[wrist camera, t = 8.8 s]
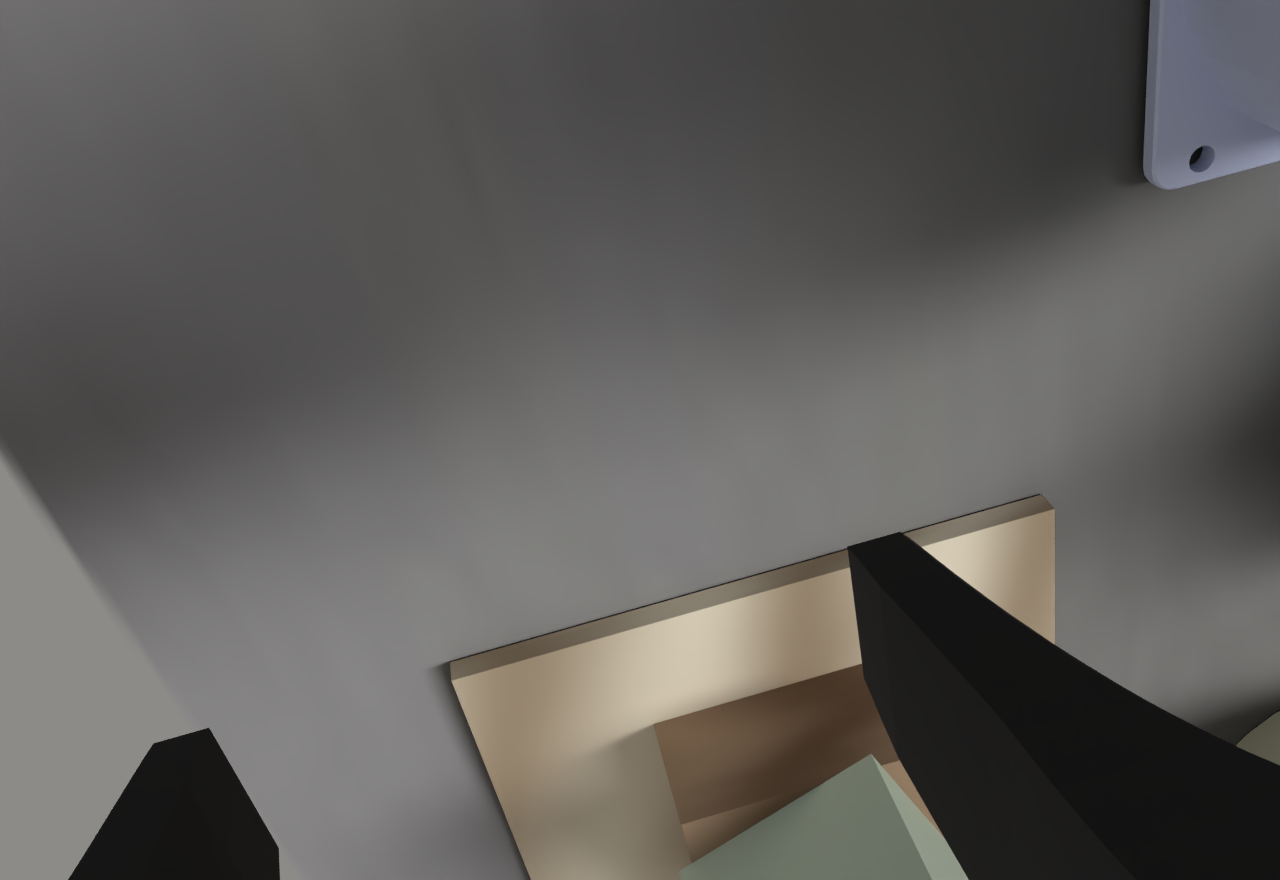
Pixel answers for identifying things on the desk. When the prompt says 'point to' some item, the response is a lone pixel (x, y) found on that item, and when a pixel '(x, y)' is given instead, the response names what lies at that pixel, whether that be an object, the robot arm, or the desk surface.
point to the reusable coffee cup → (1264, 740)
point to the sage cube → (837, 837)
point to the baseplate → (711, 704)
